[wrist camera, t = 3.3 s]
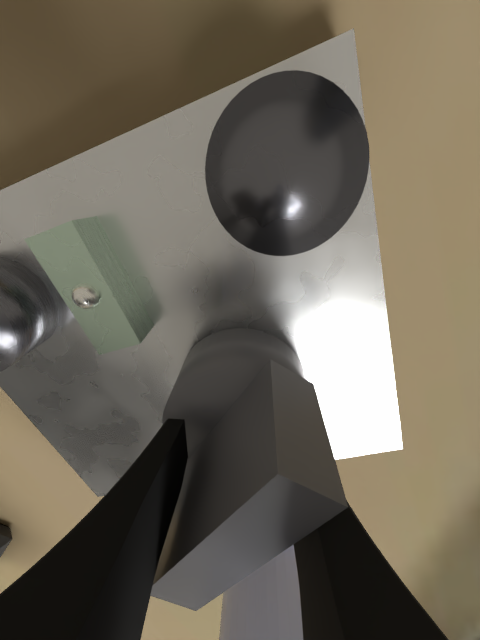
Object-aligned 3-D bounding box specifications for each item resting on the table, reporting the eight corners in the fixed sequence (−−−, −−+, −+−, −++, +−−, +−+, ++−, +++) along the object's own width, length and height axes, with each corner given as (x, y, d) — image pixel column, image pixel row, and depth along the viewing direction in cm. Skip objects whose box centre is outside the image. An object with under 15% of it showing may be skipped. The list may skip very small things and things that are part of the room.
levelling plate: (390, 427, 16) (426, 493, 13) (108, 476, 20) (76, 536, 17) (339, 51, 9) (390, -33, 6) (-84, 240, 13) (-210, 260, 9)
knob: (338, 361, 12) (420, 541, 6) (212, 491, 17) (184, 665, 11) (226, 294, 11) (184, 429, 5) (124, 452, 16) (39, 621, 10)
